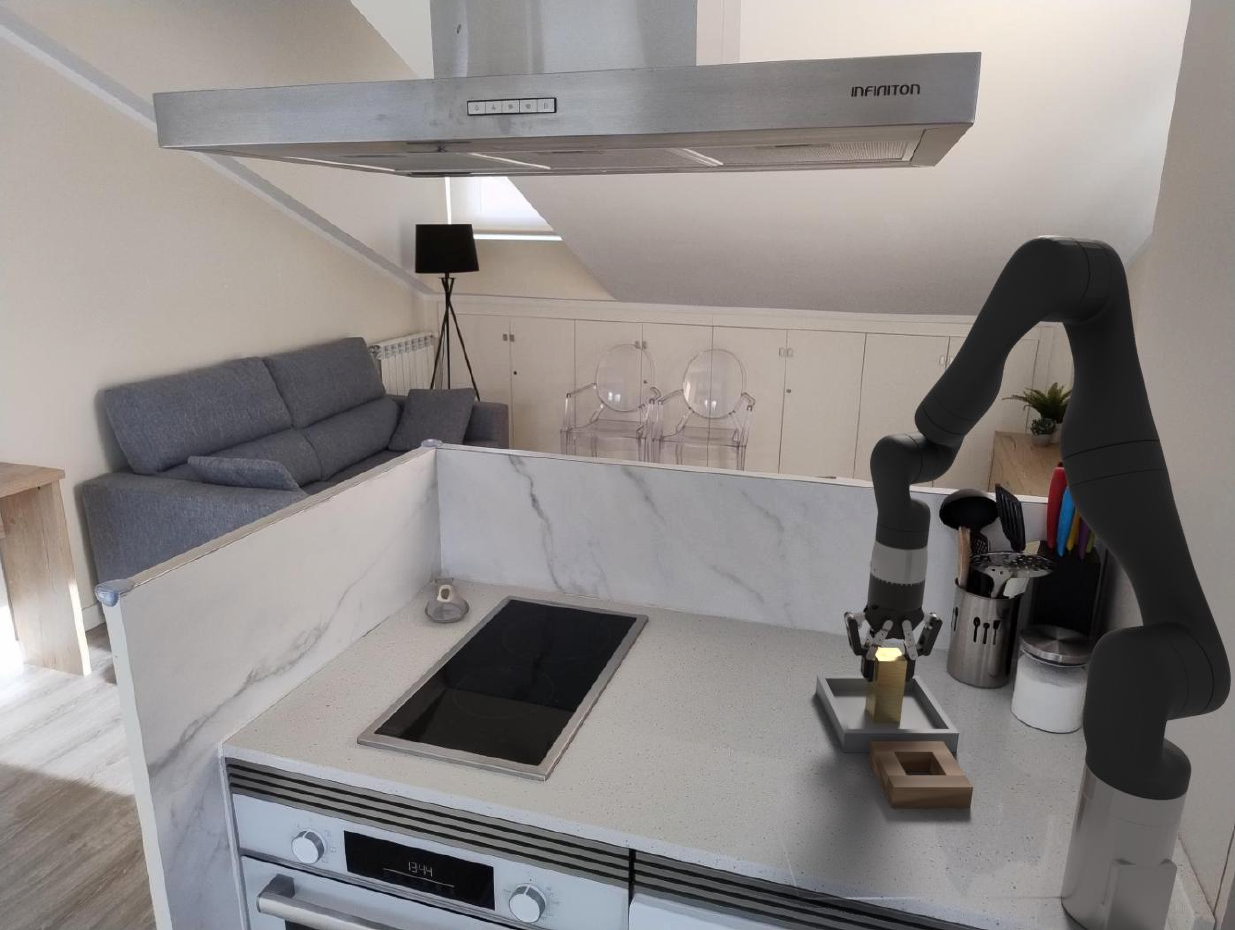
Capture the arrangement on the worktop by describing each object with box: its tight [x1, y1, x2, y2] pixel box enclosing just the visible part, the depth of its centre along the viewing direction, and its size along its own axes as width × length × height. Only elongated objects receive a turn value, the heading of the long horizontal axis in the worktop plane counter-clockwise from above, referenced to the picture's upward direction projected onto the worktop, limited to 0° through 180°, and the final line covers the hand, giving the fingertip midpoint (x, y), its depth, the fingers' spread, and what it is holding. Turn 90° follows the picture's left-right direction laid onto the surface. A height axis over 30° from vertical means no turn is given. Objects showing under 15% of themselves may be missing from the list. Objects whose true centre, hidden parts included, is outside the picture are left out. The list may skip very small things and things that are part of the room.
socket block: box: [868, 741, 974, 809], centre depth 115 cm, size 10×10×3 cm
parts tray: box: [815, 674, 960, 753], centre depth 129 cm, size 16×16×3 cm
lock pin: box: [865, 647, 907, 723], centre depth 128 cm, size 4×4×10 cm
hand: (886, 679), depth 128 cm, fingers open, 4 cm apart
